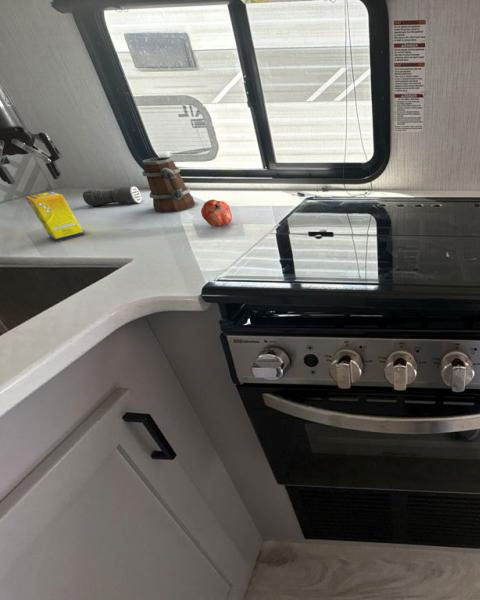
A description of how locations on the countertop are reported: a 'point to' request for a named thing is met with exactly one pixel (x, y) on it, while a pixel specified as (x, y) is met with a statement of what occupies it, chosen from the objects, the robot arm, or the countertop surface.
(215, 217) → the pomegranate
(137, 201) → the flashlight
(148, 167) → the mug
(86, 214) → the countertop surface
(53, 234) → the supplement box
